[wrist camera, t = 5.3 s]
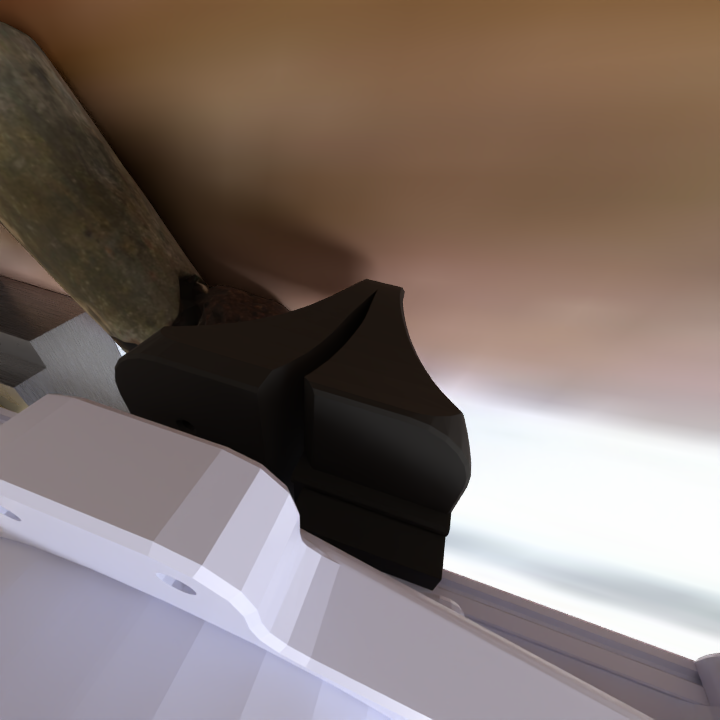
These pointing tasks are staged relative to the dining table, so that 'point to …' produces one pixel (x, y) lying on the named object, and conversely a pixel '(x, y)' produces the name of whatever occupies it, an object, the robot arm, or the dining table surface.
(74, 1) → the dining table surface
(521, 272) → the dining table surface
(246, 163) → the dining table surface
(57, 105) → the brown elongated piece
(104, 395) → the gray angular bracket
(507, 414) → the dining table surface
